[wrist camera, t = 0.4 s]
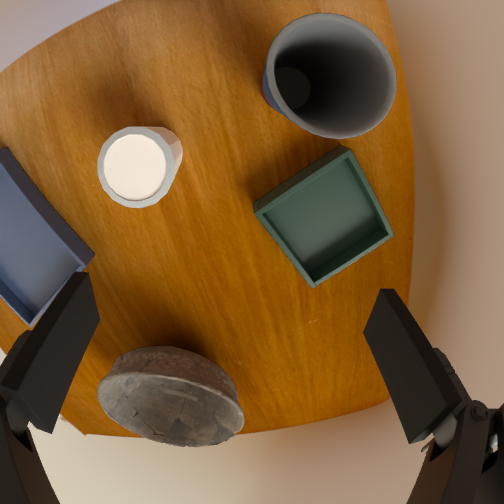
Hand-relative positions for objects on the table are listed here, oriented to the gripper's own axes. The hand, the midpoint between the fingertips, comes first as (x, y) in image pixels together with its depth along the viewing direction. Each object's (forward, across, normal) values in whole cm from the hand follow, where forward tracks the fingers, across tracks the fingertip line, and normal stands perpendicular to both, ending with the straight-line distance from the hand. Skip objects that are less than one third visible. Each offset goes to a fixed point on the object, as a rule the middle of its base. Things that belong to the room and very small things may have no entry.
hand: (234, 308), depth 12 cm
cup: (+20, +4, +10) cm, 23 cm away
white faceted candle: (+20, -8, +3) cm, 21 cm away
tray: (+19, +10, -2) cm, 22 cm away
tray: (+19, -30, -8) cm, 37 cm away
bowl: (+20, -8, -28) cm, 35 cm away
